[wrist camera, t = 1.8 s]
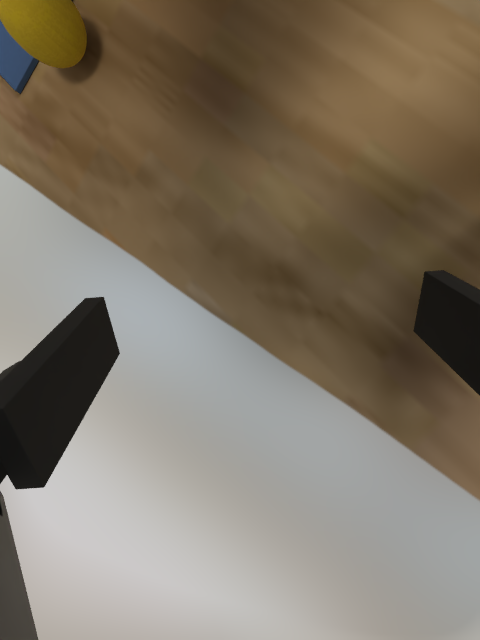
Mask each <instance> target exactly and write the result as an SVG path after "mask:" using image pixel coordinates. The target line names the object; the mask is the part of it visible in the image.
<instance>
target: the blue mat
mask: <svg viewBox="0 0 480 640" xmlns="http://www.w3.org/2000/svg"><path fill="white" fill-rule="evenodd" d="M71 1H72V0H71ZM38 61H39V60H37V59H36V58H34V57H33V56H31V55H30V54H29V53H27V52H26V51H25V50H24V49H23V48H22V47H21V46H20V45H19V44H18V43H17V42H16V41H15V40H14V39H13V38H12V36H11V35H10V34H9V33H8V31H7V30H6V29H5V27H4V25H3V24H2V22H1V20H0V75H1V76H2V77H3V78H4V79H5V80H6V81H7V83H8V84H9V85H10V86H11V87H12V88H13V89H14V90H15V91H17V92H18V93H21V92H22V90H23V88H24V86H25V84H26V83H27V81H28V79H29V77H30V75H31V74H32V72H33V70H34V68H35V67H36V65H37V63H38Z"/></svg>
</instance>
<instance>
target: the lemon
mask: <svg viewBox="0 0 480 640" xmlns="http://www.w3.org/2000/svg"><path fill="white" fill-rule="evenodd" d="M0 20H1V22H2V24H3V25H4V27H5V29H6V30H7V31H8V33H9V34H10V35H11V36H12V38H13V39H14V40H15V41H16V42H17V43H18V44H19V45H20V46H21V47H22V48H23V49H24V50H25V51H26V52H27V53H29V54H30V55H31V56H33V57H34V58H36V59H37V60H39V61H41V62H43V63H44V64H47V65H49V66H52V67H57V68H68V67H72V66H74V65H76V64H77V63H78V62H79V61H80V60H81V59H82V57H83V56H84V53H85V50H86V45H87V35H86V29H85V25H84V22H83V20H82V18H81V15H80V13H79V11H78V9H77V8H76V6H75V5H74V3H73V2H72V1H71V0H0Z"/></svg>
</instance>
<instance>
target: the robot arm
mask: <svg viewBox="0 0 480 640" xmlns="http://www.w3.org/2000/svg"><path fill="white" fill-rule="evenodd" d="M414 332H415V333H416V334H417V335H418V336H419V337H420V338H421V339H422V340H423V341H424V342H425V343H426V344H427V345H428V346H429V347H430V348H431V349H432V350H433V351H434V352H436V353H437V354H438V355H439V356H440V357H441V358H442V359H443V360H444V361H445V362H446V363H447V364H448V365H449V366H450V367H451V368H452V369H453V370H454V371H455V372H456V373H457V374H458V375H459V376H460V377H461V378H462V379H463V380H464V381H465V382H466V383H467V384H468V385H469V386H470V387H472V388H473V389H474V390H475V391H476V392H477V393H478V394H479V395H480V290H479V289H477V288H475V287H474V286H472V285H470V284H468V283H466V282H464V281H463V280H461V279H459V278H457V277H455V276H453V275H452V274H450V273H448V272H446V271H444V270H440V271H427V272H424V278H423V283H422V289H421V294H420V299H419V305H418V310H417V316H416V321H415V326H414ZM119 354H120V353H119V349H118V346H117V342H116V339H115V335H114V332H113V328H112V325H111V321H110V318H109V314H108V310H107V307H106V304H105V300H104V297H96V298H85V299H84V300H83V301H82V302H81V303H80V304H79V305H78V306H77V307H76V308H75V309H74V310H73V311H72V312H71V313H70V314H69V315H68V316H67V317H66V318H65V319H64V320H63V321H62V322H61V323H60V324H58V325H57V326H56V327H55V328H54V329H53V330H52V331H51V332H50V333H49V334H48V335H47V336H46V337H45V338H44V339H43V340H42V341H41V342H40V343H39V344H38V345H37V346H36V347H35V348H34V349H33V350H32V351H31V352H30V353H29V354H28V355H27V356H26V357H25V358H24V359H23V360H22V361H19V362H17V363H15V364H14V365H12V366H11V367H9V368H7V369H6V370H4V371H3V372H2V373H1V374H0V483H1V482H2V481H3V479H4V478H5V476H6V475H8V476H9V478H10V480H11V482H12V483H13V485H14V487H15V489H27V488H41V487H44V486H45V485H46V483H47V481H48V479H49V478H50V476H51V474H52V472H53V471H54V469H55V467H56V465H57V464H58V461H59V460H60V458H61V457H62V455H63V453H64V451H65V449H66V448H67V446H68V444H69V442H70V441H71V439H72V437H73V435H74V434H75V432H76V430H77V428H78V426H79V425H80V423H81V421H82V419H83V418H84V416H85V414H86V412H87V411H88V409H89V407H90V405H91V403H92V402H93V400H94V398H95V396H96V394H97V393H98V391H99V389H100V388H101V386H102V384H103V382H104V381H105V379H106V377H107V375H108V373H109V372H110V370H111V368H112V366H113V365H114V363H115V361H116V359H117V357H118V355H119ZM0 640H38V637H37V632H36V628H35V624H34V620H33V616H32V612H31V608H30V604H29V600H28V596H27V592H26V587H25V583H24V579H23V575H22V571H21V567H20V563H19V559H18V555H17V551H16V547H15V543H14V539H13V535H12V530H11V526H10V522H9V518H8V514H7V510H6V506H5V502H4V497H3V495H2V493H1V492H0Z"/></svg>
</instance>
